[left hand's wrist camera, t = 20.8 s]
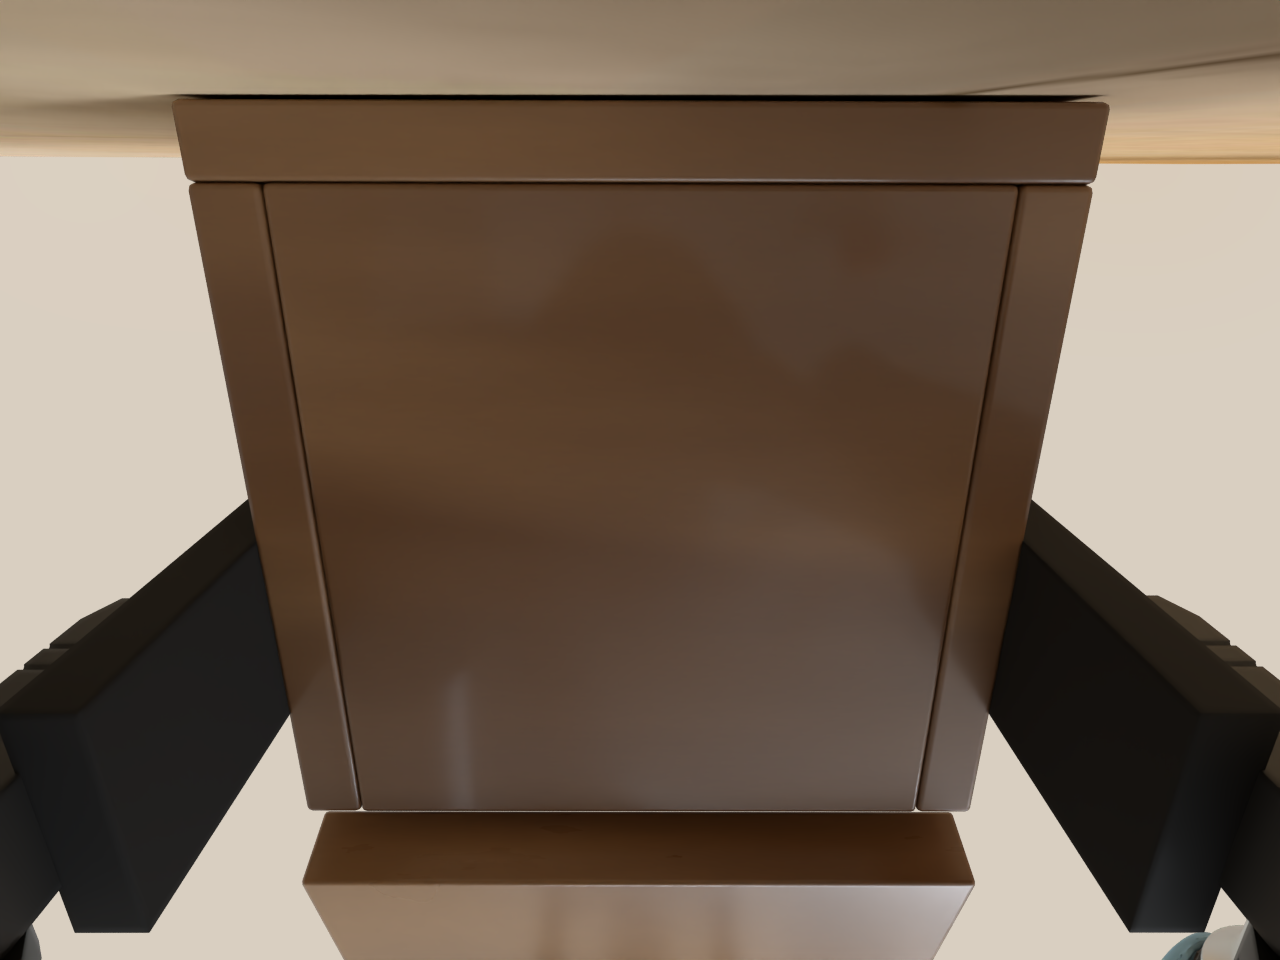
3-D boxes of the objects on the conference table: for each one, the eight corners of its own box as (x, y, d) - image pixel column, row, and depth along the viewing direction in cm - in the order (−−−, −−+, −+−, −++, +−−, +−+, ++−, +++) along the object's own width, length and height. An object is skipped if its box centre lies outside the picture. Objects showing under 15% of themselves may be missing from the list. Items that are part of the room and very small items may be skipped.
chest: (809, 151, 23) (786, 461, 26) (470, 150, 23) (491, 460, 26) (1115, 102, 8) (971, 814, 12) (166, 98, 8) (305, 813, 12)
